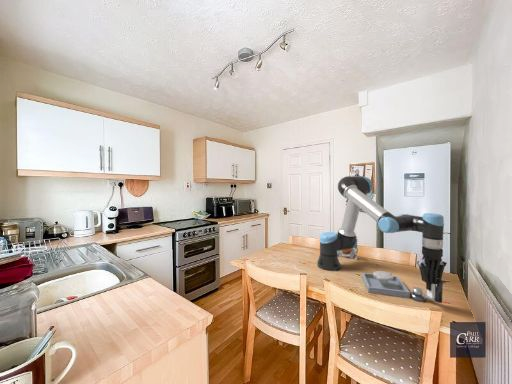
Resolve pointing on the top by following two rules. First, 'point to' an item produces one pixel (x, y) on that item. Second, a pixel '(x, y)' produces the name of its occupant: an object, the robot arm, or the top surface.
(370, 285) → the tray
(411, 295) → the crank base
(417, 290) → the crank
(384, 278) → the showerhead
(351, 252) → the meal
